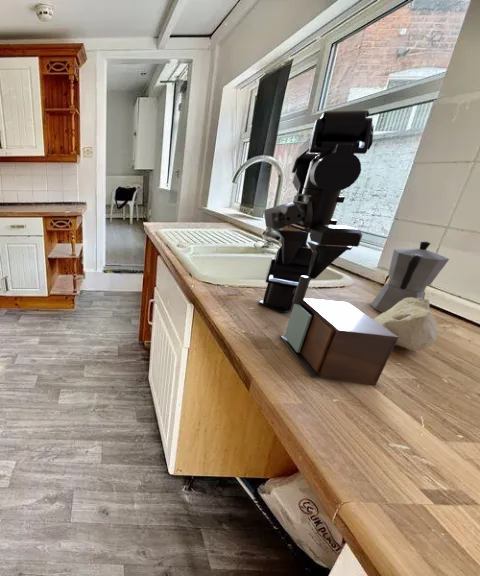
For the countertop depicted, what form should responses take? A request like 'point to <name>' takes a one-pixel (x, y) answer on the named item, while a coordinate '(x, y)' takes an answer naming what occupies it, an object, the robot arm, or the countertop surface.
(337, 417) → the countertop surface
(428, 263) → the coffeepot
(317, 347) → the cabinet
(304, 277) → the cleaver
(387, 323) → the beige rock
